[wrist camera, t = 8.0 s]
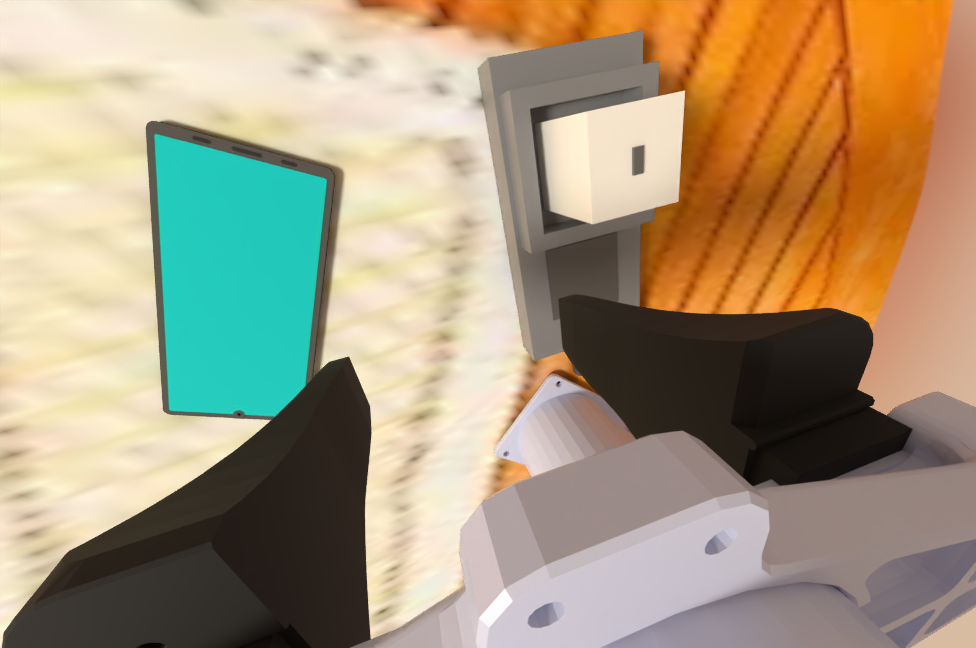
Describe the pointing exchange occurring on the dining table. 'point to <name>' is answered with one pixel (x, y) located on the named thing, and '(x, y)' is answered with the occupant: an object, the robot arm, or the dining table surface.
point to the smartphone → (235, 272)
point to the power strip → (528, 226)
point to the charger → (612, 159)
